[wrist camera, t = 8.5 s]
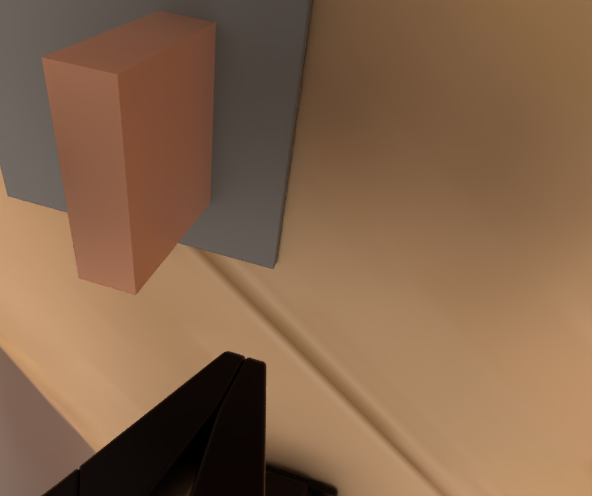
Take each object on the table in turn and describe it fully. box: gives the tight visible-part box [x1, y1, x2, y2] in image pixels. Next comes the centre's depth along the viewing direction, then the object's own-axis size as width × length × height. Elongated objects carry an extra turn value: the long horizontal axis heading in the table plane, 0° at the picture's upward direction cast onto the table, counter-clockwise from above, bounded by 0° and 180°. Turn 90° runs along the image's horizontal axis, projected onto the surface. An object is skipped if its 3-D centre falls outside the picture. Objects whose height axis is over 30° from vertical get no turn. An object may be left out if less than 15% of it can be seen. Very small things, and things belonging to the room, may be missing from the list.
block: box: [42, 11, 216, 295], centre depth 17 cm, size 7×2×6 cm, turn 173°
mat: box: [0, 0, 312, 269], centre depth 19 cm, size 12×13×1 cm
